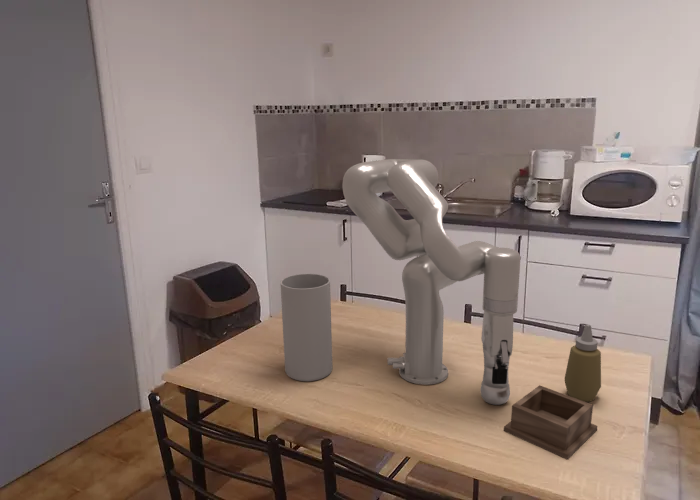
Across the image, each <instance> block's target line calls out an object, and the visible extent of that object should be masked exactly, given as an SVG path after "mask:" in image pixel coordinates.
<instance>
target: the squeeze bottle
mask: <svg viewBox="0 0 700 500" xmlns="http://www.w3.org/2000/svg"><path fill="white" fill-rule="evenodd" d="M598 342H599V341H598V340H597V339H595V338H593V330H592V325H590V324H585V326H584V328H583V331H582V334H581V336H578V337H576V338H575V344H574V345H573V346H571V347H570V351H569V355H568V359H567V365H566V370H565V373H564V374H565V375H564V384H565V387H566V391H567V395H568V396H570V397H573V398H576V399H578V400H581V401H584V402H587V403H589V402H593V401H594V400H595V399H596V397H597V395H598V393H599V392H600V389H601V388H602V355H601V354H602V352H601V351H600V349H598Z"/></svg>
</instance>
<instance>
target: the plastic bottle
mask: <svg viewBox="0 0 700 500" xmlns="http://www.w3.org/2000/svg"><path fill="white" fill-rule="evenodd" d="M481 342H482V341H481ZM482 351H483V375H482V381H481V385H480V391H479V392H480V396H481V398H482V400H483V401H484V402H485V403H487V404H489V405H494V406H501V405H504V404H506V403H507V402H508V401H509V399H510V395H511V389H510V388H511V387H510V383H509V368H510V362H509V363H508V369H507V383H506V384H493V383H492V370H493V367H494V356H493V357H491V356H490V355H489V354H488V353H487V340H486V337H484V339H483V342H482ZM507 351H508V349H507ZM497 355H501V351H499V352H498V354H497ZM508 359H509V360H510V359H511V356H510V357H508ZM499 360H501V358H498V361H499Z"/></svg>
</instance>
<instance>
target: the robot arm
mask: <svg viewBox="0 0 700 500" xmlns="http://www.w3.org/2000/svg"><path fill="white" fill-rule="evenodd" d="M439 180H440V179H439V171H438V169H437V167H436V165H434V164H433V163H432V162H431V161H429V160H426V159H406V158H405V159H404V158H403V159H402V158H399V159H398V158H387V159H379V160H371V161H364V162H359V163H357V164H354V165H352V166H350V167H349V168H348V169H347V170H346V172H344V175H343V178H342V192H343V196H344V199H345V202H346V204H347V206H348V207H349V209H350V210H351V211H352V212H353V213H354V214H355V216H357V218H359V220H360V221H361V222H362V223H363V224H364V225H365V227H366V228H367V229H368V230H369V232H370V233H371V235H372V236H373V238H375V240H376V241H377V242H378V243H379V245H380V246H381V247H382V249H383V250H384V251H385V253H386V254H387V255H388V256H389V257H390V258H391V259H393V260H394V261H403V260H404V261H405V260H409V259H410V258H412V259H411V260H409V261H408V262H407V263H406V264H405V266H404V267H403V269H402V272H401V273H402V274H401V279H402V280H401V281H402V288H403V292H404V298H405V299H404V301H405V303H404V304H405V350H404V352H403V353H402V354H403V356H399V357H387V366H392V369H393V370H394V369H398V370H399V371H398V372H399V375H400V377H401V378H402V379H403V380H405V381H407V382H409V383H412V384H415V385H424V386H425V385H426V386H427V385H428V386H429V385H434V384H439V383H441V382H444V381H445V380H446V379H447V378H448V376H449V369H448V367H447V365H445V364H444V363H443V352H444V350H443V349H444V347H443V346H444V313H445V311H444V304H443V301H442V299H441V295H440V291H441V290H443V289H444V288H446V287H450V286H452V285H453V284H455V283H457V282H463V281H466V280H469V279H472V278H473V277H475V276H480V275H483V289H482V290H483V292H482V310H483V318H482V327H481V342H483V339H484V337H486V340H487V353H488V354H489V355H490V356H491V357H493V356H494V367H493V370H492V383H493V384H506V383H507V369H508V370H509V368H508V367H509V366H508V363H509V364H510V359H508V357H510V358H511V356H512V353H513V347H514V346H513V345H514V315H515V314H516V313H517V312H518V306H519V305H518V303H519V287H520V272H521V255H520V253H519V252H518V250H516V249H513V248H510V247H509V248H508V247H498V246H497V245H493V244H491V243H487V242H485V241H482V240H481V241H480V240H477V241H476V240H475V241H471V242H468V243H465V244H462V245H456V243H454V241H453V240H452V239H451V237H449V235H448V233H447V232H446V230H445V229H444V226H443V225H444V224H443V218H444V216H445V215H446V213H447V212H448V209H449V204H448V201H447V200H446V199H445V197H443V196H442V194H441V193H440V192H439V191H438V190H437V188H436V187H437V185H438V183H439ZM387 192H391V193H392V194H393V195H394V196H395V198H397V200H398V201H399V202H400V203H401V204H402V206H403V207H404V208H405V209H406V211H407V212H408V213H409V214H410V215H411V217H412V218H411V219H408V220H406V219H404V218H403V217H402V216H401V215H400V214H399V212H397V211H396V209H395V207H393V206H392V205H391V204H390V203H389V202H388V201H386V200H385V199H383V198H381V197H380V196H378V195H377V194H381V193H387ZM414 257H415V258H414ZM507 349H508V351H507ZM499 351H501V355H497V354H498V352H499ZM498 358H501V360H499V361H498Z"/></svg>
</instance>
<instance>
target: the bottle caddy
mask: <svg viewBox="0 0 700 500" xmlns="http://www.w3.org/2000/svg"><path fill="white" fill-rule="evenodd" d="M593 409H594V404H592V403H589V402H584V401H581V400H578V399H576V398H573V397H570V396H569V395H568V394H564V393H562V392H559V391H557V390H554V389H550V388H549V387H546V386H543V385H540V384H539V385H538V386H537V387H535V388H534V389H532V390H531V391H530V392H528V393H527V394H525V395H524V396H523V397H522V398H520V399H519V400H517V401H516V402H515V403H513V404H512V405H511V413H510V415H511V416H510V417H511V418H510V421H509V422H508V423H507V424H505V425H504V426H503V431H504V432H505V433H508V434H510V435H512V436H515V437H517V438H519V439H521V440H523V441H526V442H528V443H531V444H533V445H534V446H537V447H539V448H541V449H543V450H546V451H548V452H550V453H552V454H554V455H556V456H560V457H561V458H564V459H567V460H569V458H570V457H571V456H573V455H574V454H575V453H576V451H578V450H579V449H580V448H581V447H582V446H583V444H584V443H586V441H587V440H589V439H590V438H591V437H592V436H593V434H594V433H596V432H597V430H598V425H597V424H594V423H592V418H593Z"/></svg>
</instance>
